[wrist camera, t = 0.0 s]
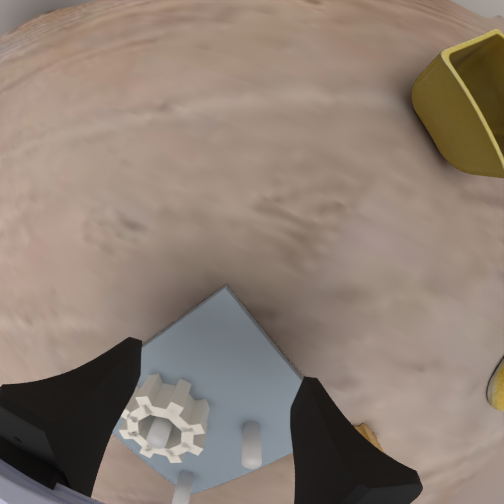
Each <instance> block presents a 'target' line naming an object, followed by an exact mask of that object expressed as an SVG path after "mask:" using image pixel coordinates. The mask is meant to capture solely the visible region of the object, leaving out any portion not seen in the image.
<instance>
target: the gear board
mask: <svg viewBox="0 0 504 504" xmlns="http://www.w3.org/2000/svg"><path fill="white" fill-rule="evenodd" d="M154 374H160V377H161V379H162V381H163V383H166V384H171V385H177V383H178V381H179V380H180V378H182V379H183V380H185V381H187V382H189V383H191V384H192V385H191V388H190V391H189V394H190V395H191V396H192V397H193V398H194V399H195V400H201V399H206V400H207V402H208V405H209V407H210V410H209V415H208V420H207V423H208V427H207V433H206V438H205V444H204V449H203V450H202V451H201V453H200V454H199V455H195V454H193V453H191V452H188V451H187V452H185V453H184V457H183V461H182V462H181V463H171V462H170V461H169V459H168V458H167V456H164V455H160V454H156V453H153V455H152V456H151V458H148V457H146V456H144V455H142V454H141V453H139V452H140V450H141V447H142V446H140V445H139V444H138V443H137V442H136V441H135V440H134V439H124V438H123V437H122V435H121V433H120V432H119V428H120V426H121V425H122V423H123V421H124V418H123V417H120V419H119V420H118V422H117V424H116V426H115V428H114V430H113V432H112V433H113V434H114V435H115V436H116V437H117V438H118V439H120V440H121V441H122V442H123V443H124V444H125V445H126V446H127V447H128V448H129V449H131V450H132V451H133V452H134V453H135V454H136V455H137V456H139V457H140V458H141V459H142V460H143V461H145V462H146V463H147V464H148V465H149V466H151V467H152V468H153V469H154V470H156V471H157V472H158V473H159V474H161V475H162V476H163V477H165V478H166V479H167V480H169V481H170V482H171V483H173V484H174V485H175V486H176V488H175V492H174V496H173V500H172V504H189V499H190V495H192V494H195V493H198V492H201V491H204V490H207V489H209V488H212V487H215V486H218V485H220V484H223V483H226V482H228V481H231V480H233V479H236V478H238V477H241V476H243V475H245V474H248V473H250V472H252V471H254V470H257V469H259V468H261V467H263V466H266V465H268V464H270V463H272V462H274V461H276V460H278V459H280V458H282V457H284V456H286V455H288V454H290V453H292V452H293V448H292V440H291V431H290V407H291V405H292V403H293V401H294V399H295V396H296V394H297V392H298V390H299V387H300V385H301V383H302V380H303V377H302V376H301V375H300V374H299V373H298V371H297V370H296V369H295V368H294V367H293V365H292V364H291V363H290V362H289V361H288V359H287V358H286V357H285V356H284V355H283V353H282V352H281V351H280V350H279V349H278V347H277V346H276V345H275V344H274V343H273V341H272V340H271V339H270V338H269V336H268V335H267V334H266V333H265V331H264V330H263V329H262V328H261V327H260V325H259V324H258V323H257V322H256V320H255V319H254V318H253V317H252V315H251V314H250V313H249V312H248V310H247V309H246V308H245V307H244V305H243V304H242V303H241V302H240V300H239V299H238V298H237V297H236V295H235V294H234V293H233V291H232V290H231V289H230V288H229V286H228V285H227V284H226V285H225V286H223V287H222V288H221V289H219V290H218V291H217V292H215V293H214V294H212V295H211V296H210V297H208V298H207V299H206V300H204V301H203V302H202V303H200V304H199V305H197V306H196V307H195V308H193V309H192V310H191V311H189V312H188V313H186V314H185V315H184V316H182V317H181V318H180V319H178V320H177V321H175V322H174V323H173V324H171V325H170V326H168V327H167V328H166V329H164V330H163V331H162V332H160V333H159V334H157V335H156V336H155V337H153V338H152V339H150V340H149V341H148V342H146V343H145V344H144V345H142V353H141V375H140V378H139V381H138V383H137V386H138V387H140V388H141V387H142V385H143V383H144V382H145V380H146V378H147V377H148V375H154ZM172 426H173V423H172V422H171V421H170V420H169V419H167V418H162V417H158V416H156V417H155V419H154V422H153V424H152V426H151V428H150V431H149V433H148V435H147V438H146V441H147V443H148V444H149V445H150V446H152V447H154V448H157V449H162V448H164V447H165V446H166V443H167V440H168V437H169V434H170V431H171V429H172Z"/></svg>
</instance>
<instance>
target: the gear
mask: <svg viewBox="0 0 504 504" xmlns="http://www.w3.org/2000/svg"><path fill="white" fill-rule="evenodd" d="M191 385H192V384H191V383H189V382H187V381H185V380H183V379H182V378H180V380H179V381H178V383H177V385H171V384H166V383H163V381H162V379H161V377H160V374H154V375H148V377H147V378H146V380H145V382H144V383H143V385H142V387H141V388H140V387H138V386H136V388H135V391H134V393H133V395H132V397H131V399H130V401H129V402H128V404H127V406H126V408H125V410H124V411H123V413H122V415H121V417H123V418H124V421H123V423H122V425H121V426H120V428H119V432H120V433H121V435H122V437H123V438H124V439H134V440H135V441H136V442H137V443H138V444H139V445H140V446H142V447H141V450H140V452H139V453H141V454H142V455H144V456H146V457H148V458H151V456H152V455H153V453H156V454H160V455H164V456H167V458H168V459H169V461H170V462H171V463H181V462H182V461H183V457H184V453H185V452H187V451H188V452H191V453H193V454H195V455H199V454H200V453H201V451H202V450H203V449H204V444H205V438H206V433H207V427H208V423H207V420H208V415H209V410H210V407H209V405H208V402H207V400H206V399H201V400H195V399H194V398H193V397H192V396H191V395H190V394H189V391H190V388H191ZM156 416H158V417H162V418H167V419H169V420H170V421H171V422H172V423H173V426H172V429H171V431H170V434H169V437H168V440H167V443H166V446H165V447H164V448H162V449H157V448H154V447H152V446H150V445H149V444H148V443H147V441H146V438H147V435H148V433H149V431H150V428H151V426H152V424H153V422H154V419H155V417H156Z"/></svg>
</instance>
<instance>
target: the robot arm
mask: <svg viewBox="0 0 504 504" xmlns="http://www.w3.org/2000/svg"><path fill="white" fill-rule="evenodd" d="M141 353H142V341H141V340H138V339H135V338H131V337H128V338H127V339H125V340H124V341H122V342H121V343H119V344H118V345H116V346H115V347H113V348H112V349H110V350H108V351H107V352H105V353H104V354H102V355H100V356H99V357H97V358H95V359H94V360H92V361H90V362H88V363H86V364H84V365H82V366H80V367H78V368H76V369H74V370H71V371H69V372H66V373H64V374H61V375H57V376H54V377H51V378H47V379H43V380H39V381H34V382H28V383H19V384H3V385H2V386H1V387H0V504H105V503H102V502H99V501H97V500H95V499H92V498H91V494H92V491H93V487H94V483H95V480H96V476H97V473H98V470H99V467H100V464H101V461H102V458H103V455H104V452H105V449H106V447H107V444H108V442H109V439H110V436H111V434H112V432H113V430H114V428H115V426H116V424H117V422H118V420H119V419H120V417H121V415H122V413H123V411H124V410H125V408H126V406H127V404H128V402H129V401H130V399H131V397H132V395H133V393H134V391H135V388H136V386H137V383H138V381H139V378H140V375H141ZM290 431H291V440H292V448H293V456H294V464H295V499H294V504H410V503H411V502H412V501H414V500H415V499H416V498H417V497H418V496H419V495H420V493H421V491H422V490H423V486H422V484H421V481H420V478H419V476H418V473H417V471H415V470H413V469H411V468H409V467H407V466H405V465H403V464H401V463H399V462H397V461H396V460H394V459H393V458H391V457H389V456H388V455H386V454H385V453H383V452H382V451H381V450H379V449H378V448H377V447H375V446H374V445H373V444H372V443H370V442H369V441H368V440H367V439H366V438H365V437H364V436H363V435H362V434H361V433H359V432H358V431H357V430H356V429H355V428H354V426H353V425H352V424H351V423H350V422H349V421H348V420H347V418H346V417H345V416H344V415H343V414H342V412H341V411H340V410H339V409H338V407H337V406H336V405H335V403H334V402H333V400H332V399H331V398H330V396H329V395H328V393H327V392H326V390H325V389H324V387H323V386H322V384H321V383H320V382H319V380H318V379H317V378H312V377H305V376H304V378H303V380H302V383H301V385H300V387H299V390H298V392H297V394H296V396H295V399H294V401H293V403H292V405H291V407H290Z"/></svg>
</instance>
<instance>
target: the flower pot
mask: <svg viewBox="0 0 504 504" xmlns="http://www.w3.org/2000/svg"><path fill="white" fill-rule="evenodd" d="M412 103H413V107H414V110H415V111H416V113H417V114H418V116H419V117H420V119H421V121H422V122H423V124H424V126H425V127H426V129H427V130H428V132H429V134H430V135H431V137H432V139H433V141H434V143H435V144H436V146H437V148H438V150H439V152H440V153H441V155H442V156H443V157H444V158H445V159H446V160H447V161H448V162H449V163H450V164H451V165H453V166H454V167H455V168H457V169H459V170H460V171H463V172H465V173H469V174H473V175H481V176H489V177H497V178H504V35H503V34H502V33H501V31H500V30H498V29H494V30H491V31H489V32H487V33H485V34H483V35H481V36H479V37H476V38H474V39H471V40H469V41H466V42H464V43H461V44H458V45H456V46H453V47H450V48H448V49H445V50H443V51H442V52H440V54H439V55H438V56H437V57H436V58H435V59H434V60H433V61H432V63H431V64H430V65H429V66H428V67H427V68H426V69H425V70H424V71H423V73H422V74H421V75H420V76H419V77H418V78H417V80H416V81H415V83H414V85H413V88H412Z"/></svg>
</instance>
